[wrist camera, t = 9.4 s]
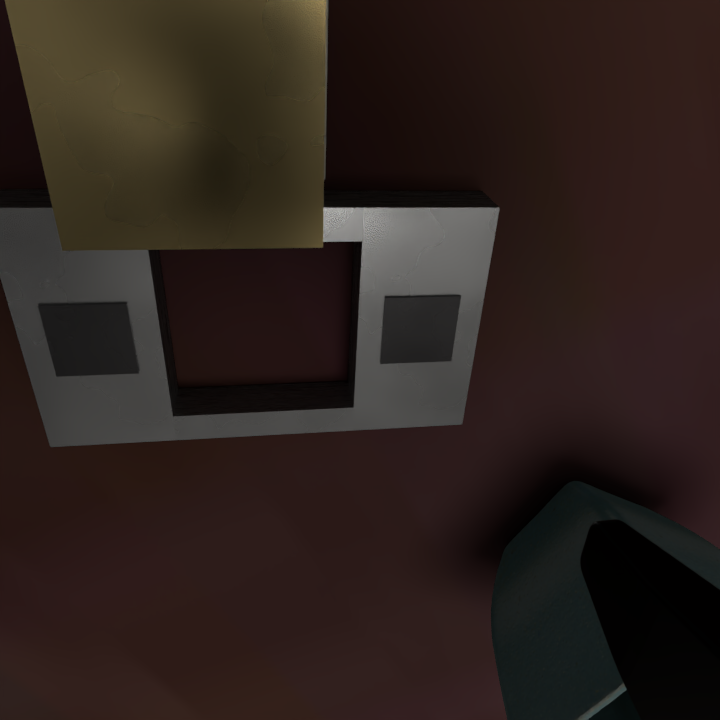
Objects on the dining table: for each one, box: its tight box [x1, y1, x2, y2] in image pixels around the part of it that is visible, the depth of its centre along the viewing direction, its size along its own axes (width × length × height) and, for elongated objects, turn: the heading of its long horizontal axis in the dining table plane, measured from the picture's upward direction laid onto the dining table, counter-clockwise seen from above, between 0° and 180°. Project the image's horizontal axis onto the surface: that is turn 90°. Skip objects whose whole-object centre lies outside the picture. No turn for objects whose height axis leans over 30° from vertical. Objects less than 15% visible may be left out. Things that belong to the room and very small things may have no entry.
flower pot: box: [491, 481, 720, 720], centre depth 25 cm, size 9×9×9 cm
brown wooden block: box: [5, 0, 326, 251], centre depth 12 cm, size 4×4×7 cm
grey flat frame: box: [0, 189, 500, 447], centre depth 19 cm, size 14×8×2 cm, turn 87°
